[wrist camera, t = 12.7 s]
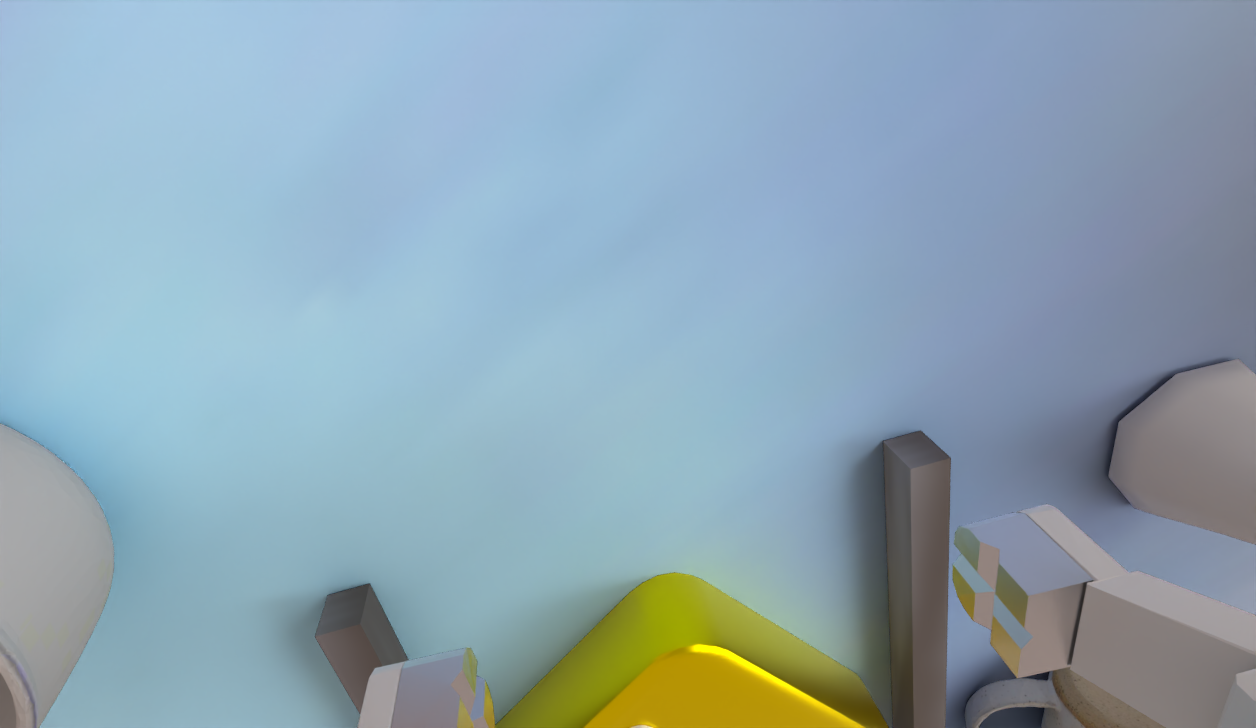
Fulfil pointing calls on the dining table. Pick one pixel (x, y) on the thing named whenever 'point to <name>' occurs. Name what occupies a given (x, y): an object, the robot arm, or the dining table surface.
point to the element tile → (693, 670)
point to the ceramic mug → (1057, 703)
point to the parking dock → (915, 593)
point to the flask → (1194, 451)
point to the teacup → (45, 576)
